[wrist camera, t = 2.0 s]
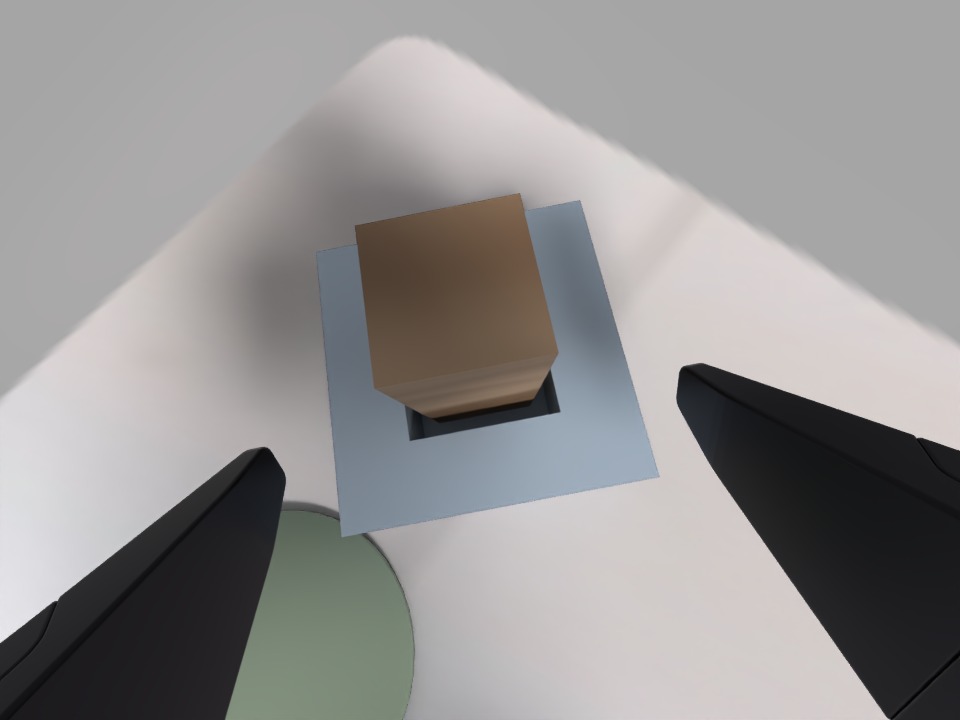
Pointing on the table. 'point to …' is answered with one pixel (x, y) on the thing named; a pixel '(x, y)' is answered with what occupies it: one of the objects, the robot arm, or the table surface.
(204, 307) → the table surface
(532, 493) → the slate-blue holder
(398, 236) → the walnut peg
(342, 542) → the sage-green mat
